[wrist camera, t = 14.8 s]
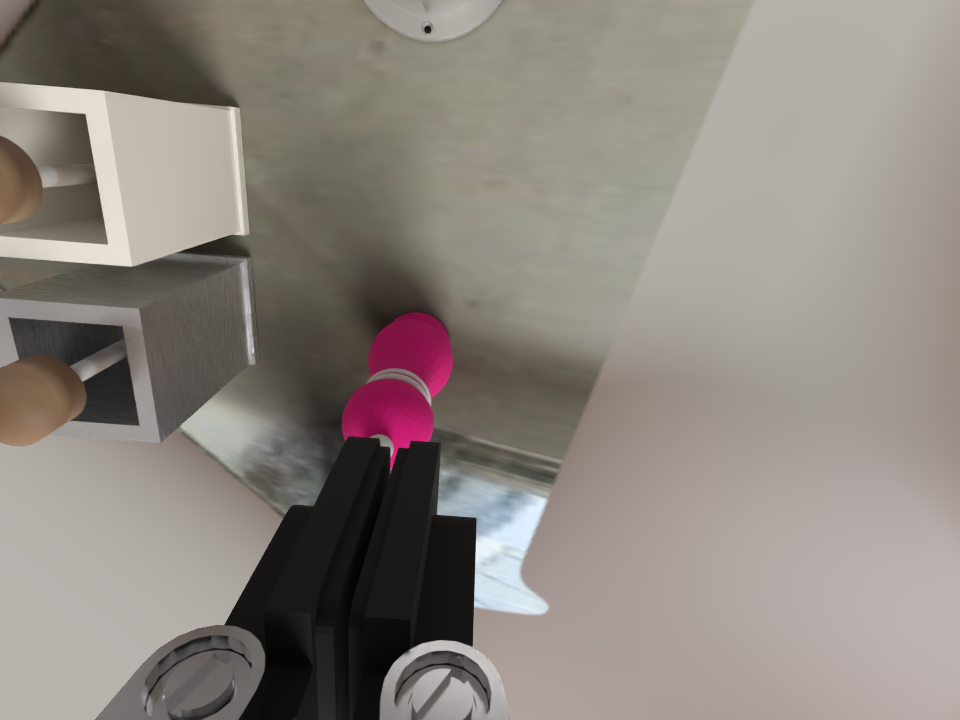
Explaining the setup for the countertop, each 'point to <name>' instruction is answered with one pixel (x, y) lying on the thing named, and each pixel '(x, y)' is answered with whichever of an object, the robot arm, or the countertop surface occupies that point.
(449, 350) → the pepper mill
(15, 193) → the near plunger
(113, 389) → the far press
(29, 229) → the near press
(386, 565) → the robot arm
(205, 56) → the countertop surface
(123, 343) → the far plunger
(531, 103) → the countertop surface
